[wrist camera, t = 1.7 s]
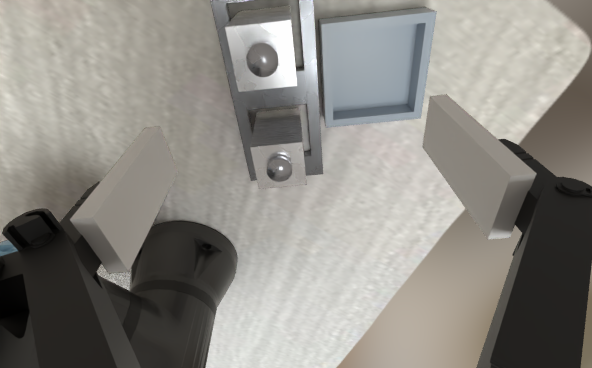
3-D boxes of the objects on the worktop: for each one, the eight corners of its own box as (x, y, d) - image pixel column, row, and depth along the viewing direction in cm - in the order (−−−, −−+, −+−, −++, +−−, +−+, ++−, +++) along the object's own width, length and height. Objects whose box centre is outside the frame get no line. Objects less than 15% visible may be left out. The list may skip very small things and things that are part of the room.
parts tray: (323, 117, 36) (326, 127, 33) (318, 19, 30) (321, 24, 28) (412, 108, 35) (420, 118, 33) (425, 7, 29) (436, 11, 27)
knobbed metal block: (248, 64, 32) (237, 95, 25) (238, 11, 29) (223, 29, 22) (295, 59, 32) (297, 89, 25) (289, 5, 29) (290, 21, 22)
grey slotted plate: (322, 168, 40) (322, 173, 39) (251, 175, 40) (250, 180, 39) (309, -46, 27) (310, -46, 26) (206, -33, 27) (203, -33, 26)
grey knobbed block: (263, 149, 38) (258, 193, 31) (256, 111, 35) (249, 151, 28) (303, 145, 38) (306, 189, 31) (299, 107, 35) (302, 146, 28)
